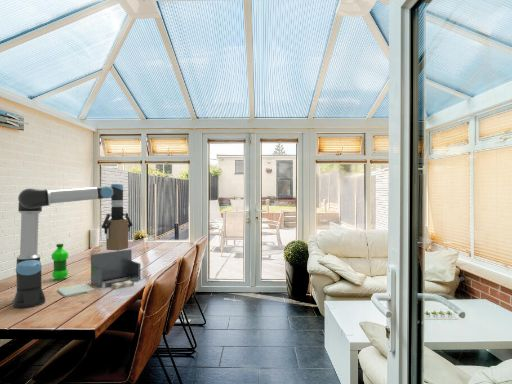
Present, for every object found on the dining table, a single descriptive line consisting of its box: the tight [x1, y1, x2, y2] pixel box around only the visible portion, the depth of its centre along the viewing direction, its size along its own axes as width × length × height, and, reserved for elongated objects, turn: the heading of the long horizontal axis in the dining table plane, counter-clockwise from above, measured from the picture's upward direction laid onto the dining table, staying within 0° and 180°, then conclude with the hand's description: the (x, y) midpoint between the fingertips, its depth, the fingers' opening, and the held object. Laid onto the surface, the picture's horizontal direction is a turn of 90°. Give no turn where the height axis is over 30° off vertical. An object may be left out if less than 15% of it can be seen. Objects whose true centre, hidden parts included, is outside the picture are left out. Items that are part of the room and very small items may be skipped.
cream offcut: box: [111, 280, 135, 290], centre depth 219 cm, size 12×7×2 cm, turn 131°
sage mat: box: [56, 283, 96, 298], centre depth 212 cm, size 17×18×1 cm
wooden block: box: [105, 218, 129, 251], centre depth 229 cm, size 10×10×20 cm
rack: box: [90, 248, 142, 288], centre depth 230 cm, size 28×19×20 cm
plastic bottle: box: [51, 243, 69, 281], centre depth 241 cm, size 10×10×25 cm
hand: (117, 237), depth 229 cm, fingers closed on wooden block, 13 cm apart
